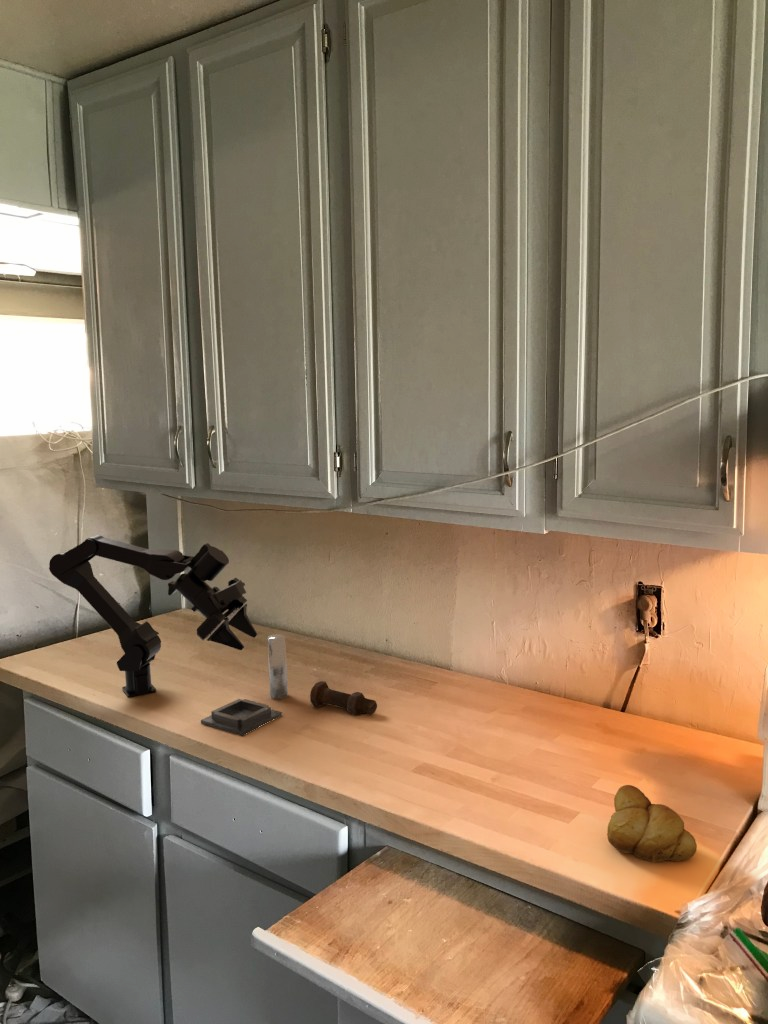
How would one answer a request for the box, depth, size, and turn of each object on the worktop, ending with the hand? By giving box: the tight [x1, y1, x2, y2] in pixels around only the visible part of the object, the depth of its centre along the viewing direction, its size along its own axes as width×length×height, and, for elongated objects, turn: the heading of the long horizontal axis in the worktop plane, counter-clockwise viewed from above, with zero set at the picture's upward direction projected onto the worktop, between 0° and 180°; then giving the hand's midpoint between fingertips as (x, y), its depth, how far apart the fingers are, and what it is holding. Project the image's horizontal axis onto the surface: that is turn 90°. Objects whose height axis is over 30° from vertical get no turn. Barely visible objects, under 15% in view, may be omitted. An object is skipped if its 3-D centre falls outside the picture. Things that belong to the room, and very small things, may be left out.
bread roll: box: [606, 784, 698, 863], centre depth 123 cm, size 13×10×8 cm
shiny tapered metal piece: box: [266, 633, 289, 700], centre depth 189 cm, size 4×4×14 cm
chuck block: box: [200, 698, 283, 737], centre depth 177 cm, size 12×12×2 cm
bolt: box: [309, 680, 378, 716], centre depth 181 cm, size 6×5×15 cm
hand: (249, 642), depth 189 cm, fingers open, 9 cm apart
